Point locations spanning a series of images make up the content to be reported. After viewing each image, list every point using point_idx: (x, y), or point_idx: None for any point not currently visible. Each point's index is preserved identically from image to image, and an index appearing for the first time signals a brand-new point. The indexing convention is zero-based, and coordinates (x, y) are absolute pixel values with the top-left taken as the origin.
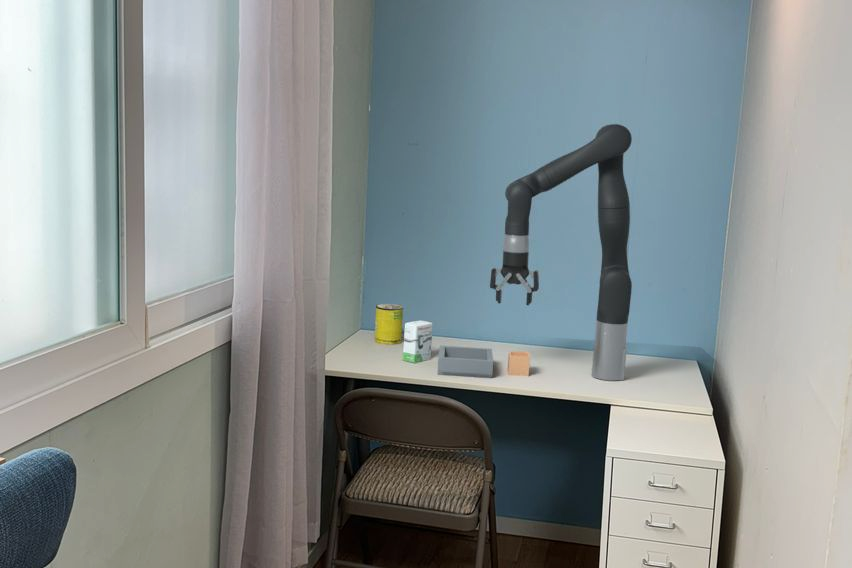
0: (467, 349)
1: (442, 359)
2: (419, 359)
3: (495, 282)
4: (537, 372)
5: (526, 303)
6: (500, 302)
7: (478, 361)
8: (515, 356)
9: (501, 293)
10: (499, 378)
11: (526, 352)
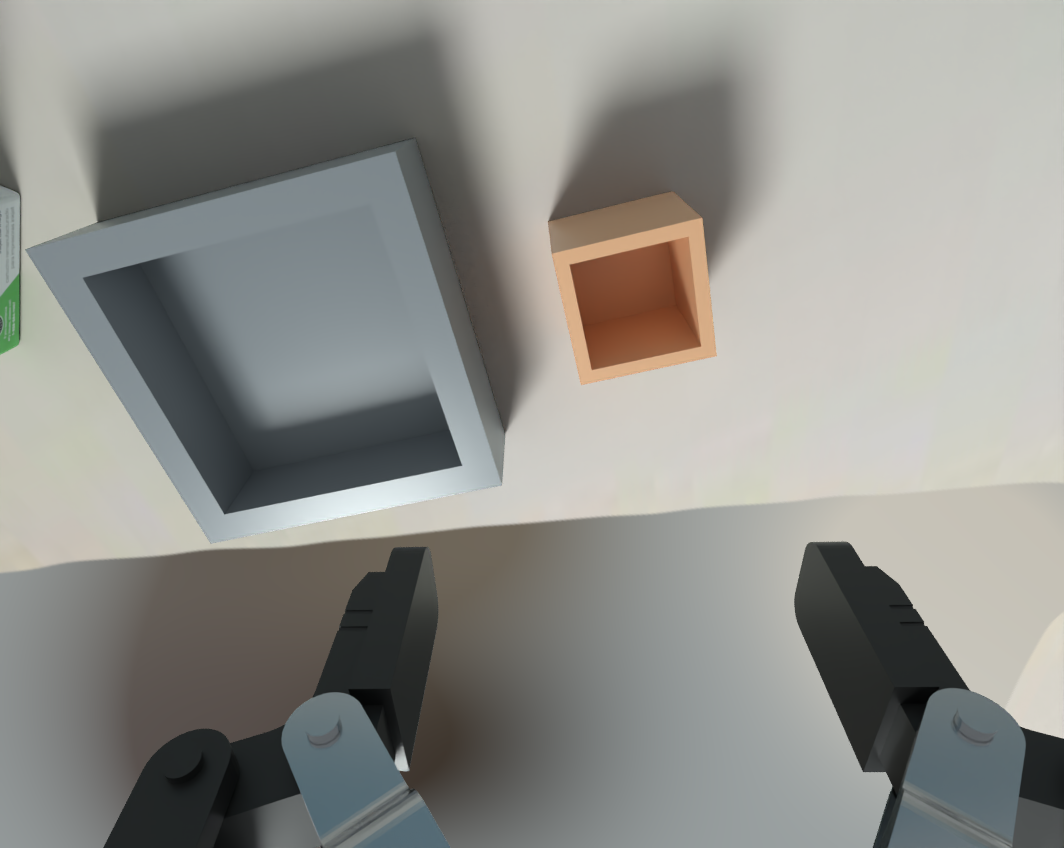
0: (236, 237)
1: (233, 535)
2: (9, 311)
3: (202, 833)
4: (739, 193)
5: (802, 630)
6: (433, 588)
7: (421, 498)
8: (618, 374)
9: (403, 644)
10: (540, 419)
11: (686, 235)
